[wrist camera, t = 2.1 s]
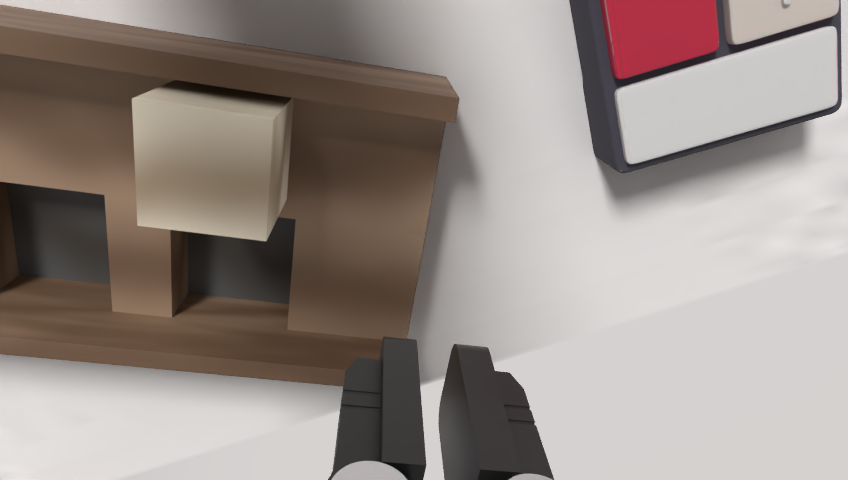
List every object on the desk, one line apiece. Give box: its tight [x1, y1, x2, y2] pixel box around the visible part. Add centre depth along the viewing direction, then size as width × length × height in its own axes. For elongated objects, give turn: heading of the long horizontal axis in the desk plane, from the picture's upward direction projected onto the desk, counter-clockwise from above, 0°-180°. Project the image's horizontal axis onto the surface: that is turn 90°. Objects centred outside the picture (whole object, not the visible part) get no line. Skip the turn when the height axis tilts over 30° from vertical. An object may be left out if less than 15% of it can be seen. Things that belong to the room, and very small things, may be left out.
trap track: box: [0, 5, 459, 386], centre depth 27 cm, size 15×31×6 cm, turn 81°
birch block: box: [132, 80, 294, 241], centre depth 24 cm, size 5×5×5 cm
